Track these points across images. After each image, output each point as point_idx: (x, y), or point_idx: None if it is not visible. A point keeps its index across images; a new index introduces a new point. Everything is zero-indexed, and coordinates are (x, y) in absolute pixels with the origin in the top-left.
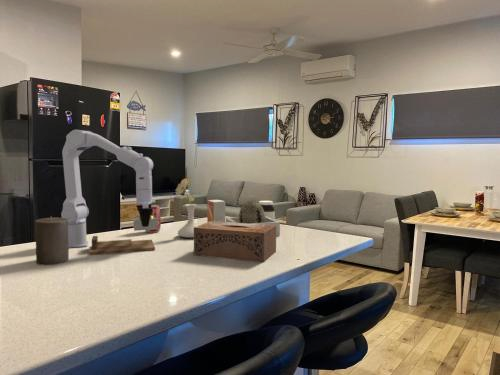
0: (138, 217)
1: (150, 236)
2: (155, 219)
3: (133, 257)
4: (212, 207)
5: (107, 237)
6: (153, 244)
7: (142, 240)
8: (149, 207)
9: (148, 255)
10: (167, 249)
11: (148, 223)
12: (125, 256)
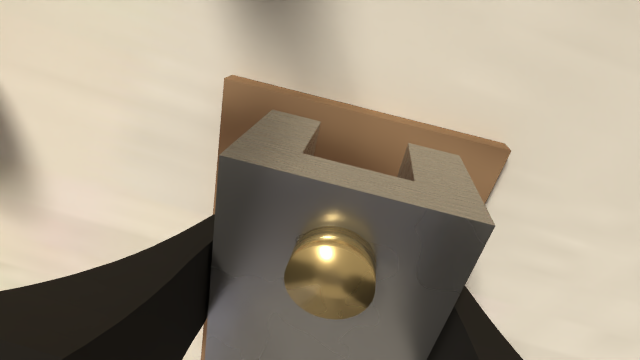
0: (213, 343)
1: (27, 17)
2: (485, 232)
3: (577, 299)
4: None
5: (25, 256)
6: (400, 124)
7: (226, 148)
8: (101, 357)
9: (607, 223)
10: (549, 46)
11: (467, 291)
12: (519, 319)
